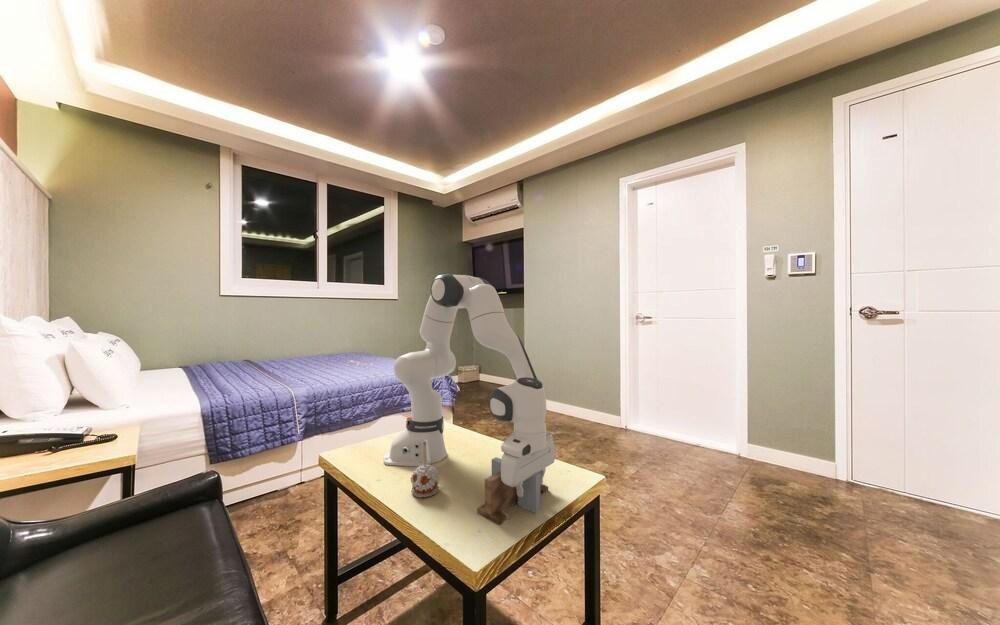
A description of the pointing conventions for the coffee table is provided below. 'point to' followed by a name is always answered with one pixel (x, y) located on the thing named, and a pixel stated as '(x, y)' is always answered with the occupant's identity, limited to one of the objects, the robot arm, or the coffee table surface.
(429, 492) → the decorative ornament
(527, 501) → the grey plate
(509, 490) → the walnut crosspiece
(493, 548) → the coffee table surface
